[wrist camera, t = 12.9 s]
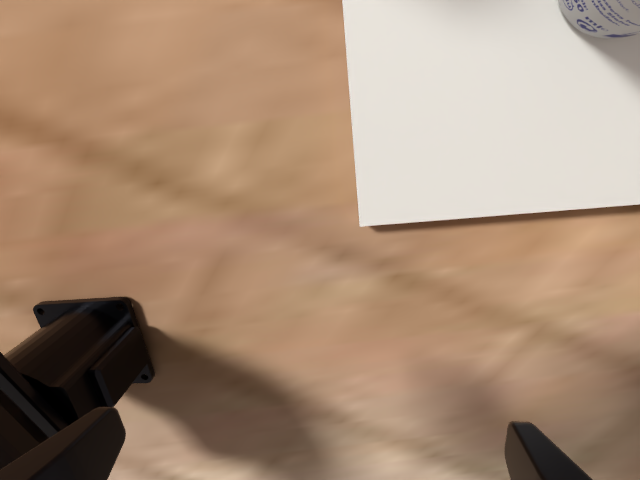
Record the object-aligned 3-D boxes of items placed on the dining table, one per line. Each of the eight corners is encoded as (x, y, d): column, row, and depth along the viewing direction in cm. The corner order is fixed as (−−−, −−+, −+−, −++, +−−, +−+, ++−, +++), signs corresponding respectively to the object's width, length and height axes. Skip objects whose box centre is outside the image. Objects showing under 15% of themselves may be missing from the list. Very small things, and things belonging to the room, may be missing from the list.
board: (359, 219, 20) (359, 226, 19) (334, -102, 15) (333, -119, 14) (680, 193, 18) (702, 199, 17) (773, -184, 13) (813, -211, 12)
